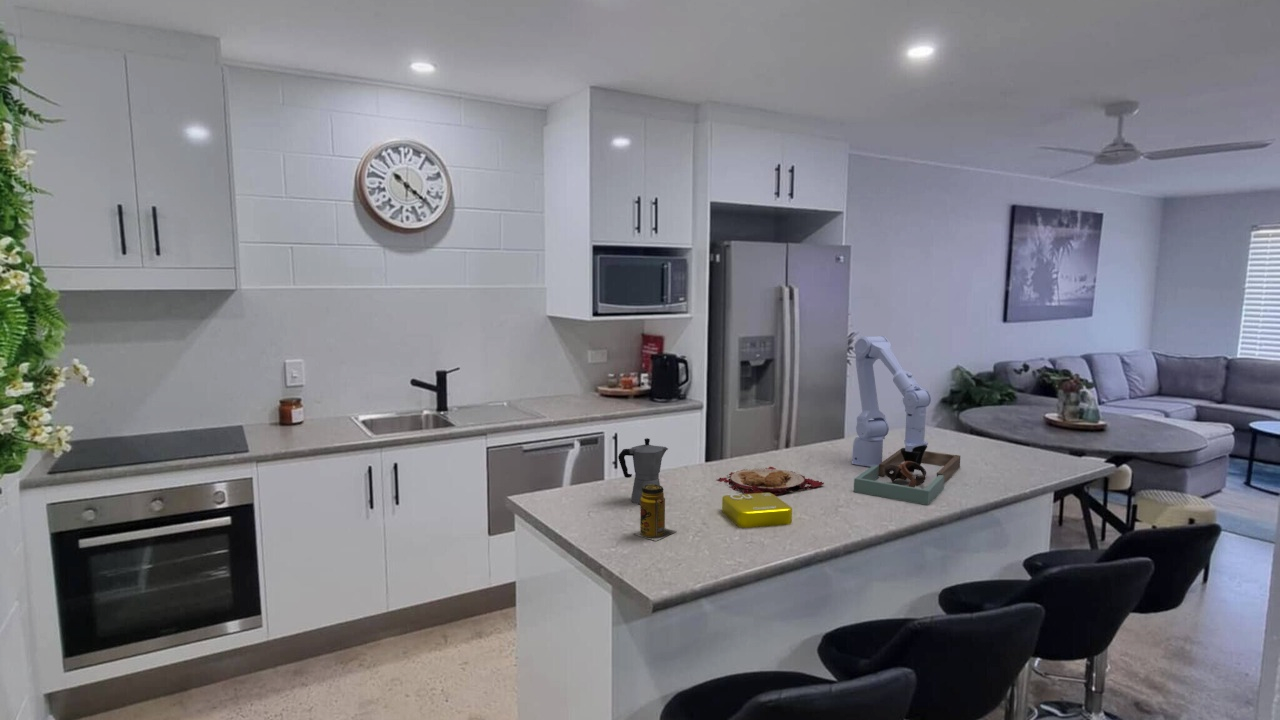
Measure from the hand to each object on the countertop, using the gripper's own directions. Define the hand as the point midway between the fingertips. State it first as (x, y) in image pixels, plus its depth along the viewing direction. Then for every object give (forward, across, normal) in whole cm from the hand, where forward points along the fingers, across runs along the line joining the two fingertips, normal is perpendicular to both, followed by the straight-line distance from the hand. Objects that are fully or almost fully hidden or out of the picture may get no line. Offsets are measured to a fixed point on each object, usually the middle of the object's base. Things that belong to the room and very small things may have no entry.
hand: (913, 469), depth 219 cm
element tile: (+3, -63, +24) cm, 68 cm away
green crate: (+3, -15, 0) cm, 15 cm away
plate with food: (+4, -33, +36) cm, 49 cm away
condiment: (+3, -89, +39) cm, 97 cm away
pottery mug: (+3, -9, 0) cm, 9 cm away
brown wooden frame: (+3, +9, 0) cm, 9 cm away
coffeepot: (+3, -70, +56) cm, 90 cm away
